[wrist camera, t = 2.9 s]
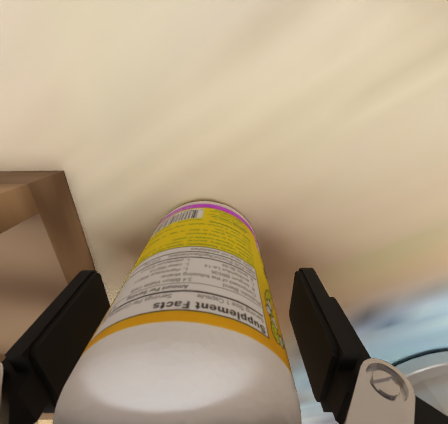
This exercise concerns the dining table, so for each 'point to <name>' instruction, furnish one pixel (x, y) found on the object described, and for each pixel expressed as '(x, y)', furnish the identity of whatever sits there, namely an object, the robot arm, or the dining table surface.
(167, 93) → the dining table surface
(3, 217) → the dock
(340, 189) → the dining table surface
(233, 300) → the supplement bottle
